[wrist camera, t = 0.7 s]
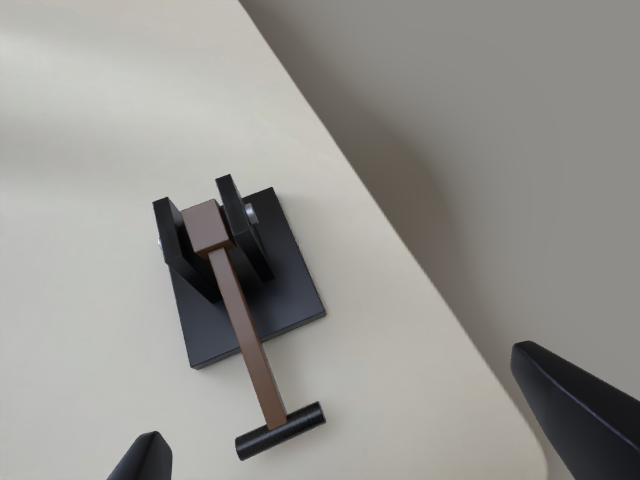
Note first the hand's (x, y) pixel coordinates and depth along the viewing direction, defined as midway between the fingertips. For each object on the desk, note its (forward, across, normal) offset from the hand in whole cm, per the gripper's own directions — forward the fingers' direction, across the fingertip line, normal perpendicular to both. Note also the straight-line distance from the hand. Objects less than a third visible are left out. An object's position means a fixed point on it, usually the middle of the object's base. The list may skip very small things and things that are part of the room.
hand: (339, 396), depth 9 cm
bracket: (+19, +6, +8) cm, 21 cm away
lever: (+12, +5, +7) cm, 15 cm away
